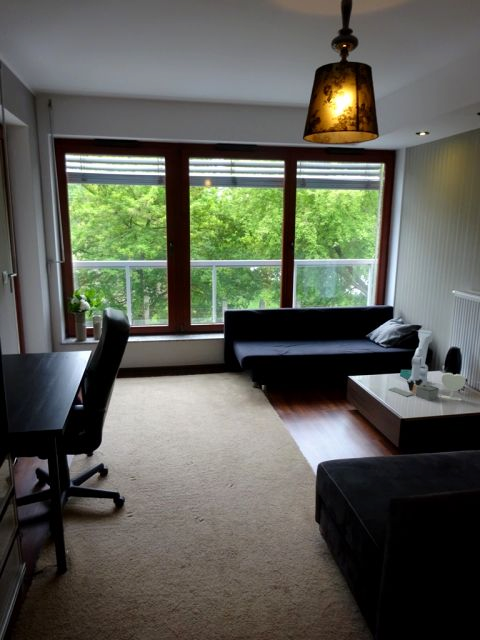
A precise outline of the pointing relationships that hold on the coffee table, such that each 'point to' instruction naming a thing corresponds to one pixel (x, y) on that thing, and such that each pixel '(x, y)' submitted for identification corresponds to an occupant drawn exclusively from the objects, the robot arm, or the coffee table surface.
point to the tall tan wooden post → (414, 388)
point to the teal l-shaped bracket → (406, 373)
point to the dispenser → (427, 392)
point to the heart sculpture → (453, 383)
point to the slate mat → (400, 392)
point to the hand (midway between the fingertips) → (413, 389)
